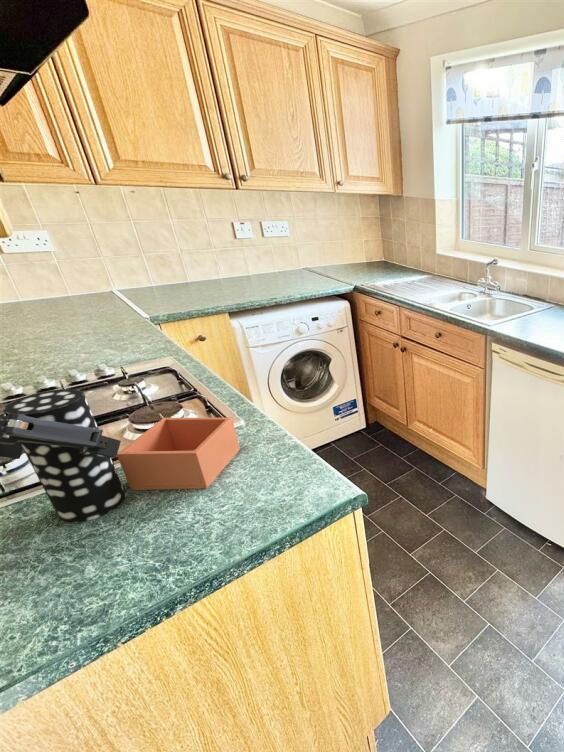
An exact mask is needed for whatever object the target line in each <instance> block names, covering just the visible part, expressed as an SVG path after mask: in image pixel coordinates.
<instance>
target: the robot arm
mask: <svg viewBox="0 0 564 752" xmlns="http://www.w3.org/2000/svg"><path fill="white" fill-rule="evenodd" d="M103 432H104V430H103V429H100V428H98V429H97V428H96V429H95V428H89V427H83V426H77V425H72V424H66V423H60V422H54V421H49V420H43V419H37V418H33V417H28V416H24V415H20V414H18V413H14V414H13V413H11V414H9V415H8V416H6V415H5V414H4V415H3V414H0V457H1V458H6V459H12V460H18V459H19V460H20V458H21V455H22V454H23V451H24V449H23V447H22V446H21V444H20V442H28V443H37V444H47V445H56V446H66V447H75V448H76V450H79V451H80V452H79V453H83V454H84V453H86V452H88V453H93V454H97V455H102V456H106V457H110V458H111V459H113V458H117V453H119V449H120V447H121V446H120V445H121V443H122V442H121V441H122V440H119V439H116V438H113V437H109V436H105V435H103ZM4 435H5V436H4ZM6 436H8V437H6Z"/></svg>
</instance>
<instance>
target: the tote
mask: <svg viewBox="0 0 564 752" xmlns="http://www.w3.org/2000/svg"><path fill="white" fill-rule="evenodd" d="M240 450H241V447H240V443H239V440H238V436H237V433H236V428H235V425H234V421H233V418H232V417H163V418H161V419H160V420H158V421H157V422H156V423H155V424H154V425H152V426H151V427H150V428H149V429H147V430H146V431H145V432H143V433H142V434H140V435H139V436H138V437H137V438H136V439H134V440H132V442H130V443H129V444H127V445H126V446H125V447H124V448H122V449H121V450H119V451H118V453H117V456H116V458H117V459H118V462H119V464H120V466H121V469H122V472H123V474H124V476H125V479H126V481H127V483H128V486H129V489H130V490H131V491H141V490H143V491H144V490H146V491H147V490H183V489H184V490H186V489H187V490H190V489H208V488H209V487H210V486H211V484H212V483H213V482H214V481H215V480H216V478H217V477H218V476H219V475H220V474H221V473H222V471H223V470H224V469H225V468H226V467H227V466H228V464H229V463H230V462H231V461H232V460H233V458H234V457H235V456H236V455H237V454H238V452H239V451H240Z"/></svg>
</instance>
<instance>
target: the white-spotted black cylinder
mask: <svg viewBox="0 0 564 752" xmlns="http://www.w3.org/2000/svg"><path fill="white" fill-rule="evenodd" d="M3 413H4V416H8V415H9V414H11V413H13V414H14V413H18V414H20V415H24V416H28V417H33V418H37V419H43V420H49V421H54V422H60V423H66V424H72V425H77V426H83V427H89V428H95V429H96V428H97V429H99V426H98V424H97V421H96V419H95V417H94V415H93V412H92V410H91V407H90V405H89V403H88V400H87V398H86V396H85V394H84V391H82V390H80V389H76V388H59V389H50V390H45V391H40V392H36V393H32V394H28V395H26V396H23V397H20V398H18V399H15V400H13V401H11V402H8V404H6V405H5V406H4V407H3ZM20 444H21V446H22V447H23V452H24V453H25V456H26V457H27V459H28V461H29V463H30V465H31V466H32V468H33V471H34V473H35V474H36V476H37V478H38V480H39V482H40V484H41V487H42V488H43V490H44V492H45V493H46V495H47V497H48V499H49V502H50V503H51V505H52V507H53V509H54V511H55V513H56V515H57V516H58V519H59V520H60V521H61V522H64V523H68V524H76V523H83V522H88V521H91V520H94V519H97V518H100V517H103V516H105V515H107V514H109V513H111V512H113V511H114V510H115V509H117V508H118V507H120V506H121V505H123V503H124V502H125V500H126V497H127V493H126V491H125V488H124V486H123V483H122V481H121V478H120V476H119V474H118V472H117V469H116V467H115V465H114V462H113V460H112V458H110V457H106V456H102V455H97V454H93V453H88V452H86V453H84V454H83V453H79V452H80V451H79V450H76V448H75V447H66V446H56V445H47V444H37V443H28V442H20Z"/></svg>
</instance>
